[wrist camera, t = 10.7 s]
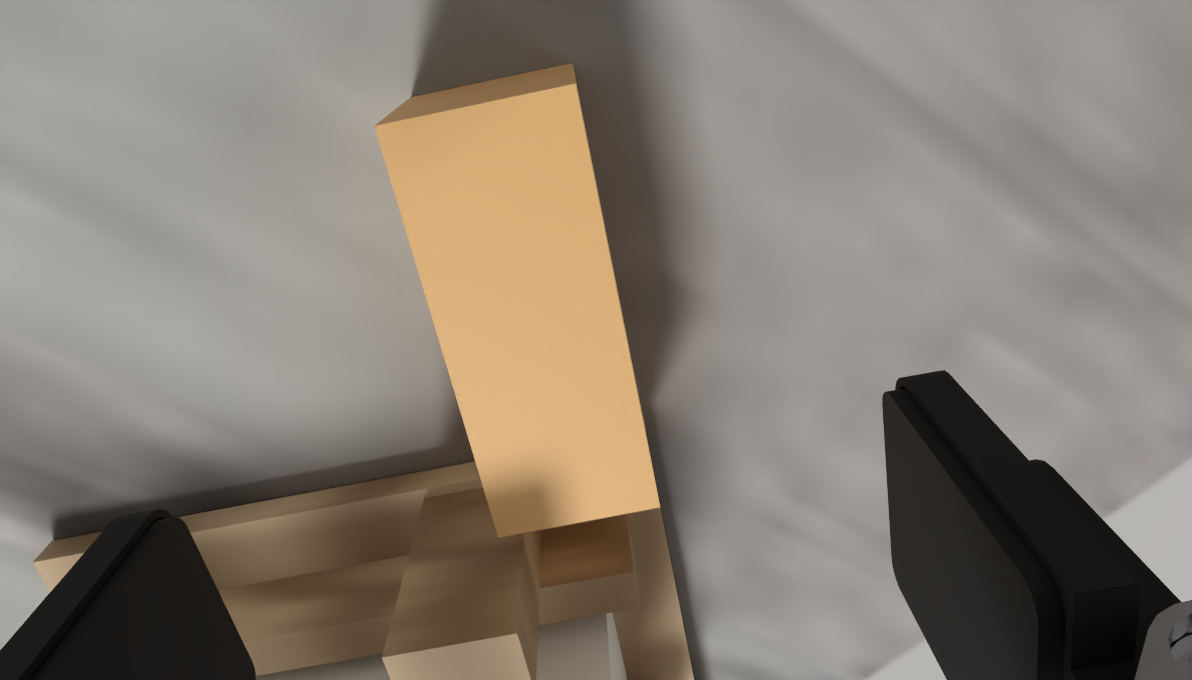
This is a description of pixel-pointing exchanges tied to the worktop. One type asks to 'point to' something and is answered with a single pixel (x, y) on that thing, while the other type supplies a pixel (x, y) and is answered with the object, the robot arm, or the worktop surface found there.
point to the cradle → (426, 580)
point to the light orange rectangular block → (523, 295)
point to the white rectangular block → (564, 656)
